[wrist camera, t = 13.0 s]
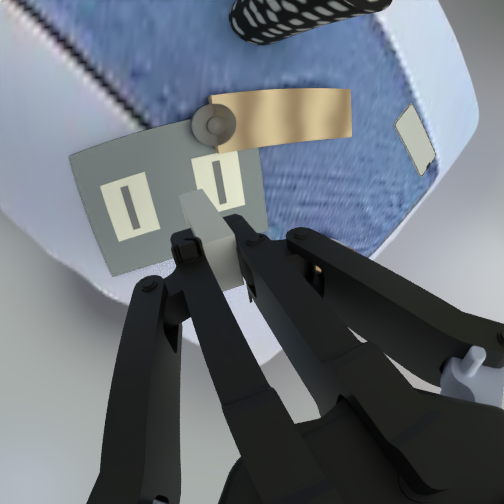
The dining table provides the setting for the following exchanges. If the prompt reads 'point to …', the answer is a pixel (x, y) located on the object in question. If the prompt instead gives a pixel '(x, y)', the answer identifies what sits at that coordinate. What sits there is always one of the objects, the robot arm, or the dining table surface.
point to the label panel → (160, 190)
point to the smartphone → (415, 139)
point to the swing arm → (272, 118)
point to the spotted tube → (293, 16)
